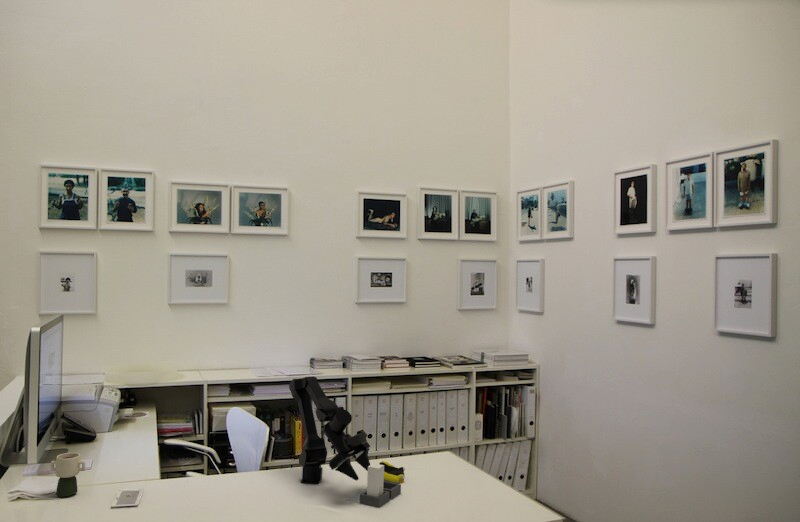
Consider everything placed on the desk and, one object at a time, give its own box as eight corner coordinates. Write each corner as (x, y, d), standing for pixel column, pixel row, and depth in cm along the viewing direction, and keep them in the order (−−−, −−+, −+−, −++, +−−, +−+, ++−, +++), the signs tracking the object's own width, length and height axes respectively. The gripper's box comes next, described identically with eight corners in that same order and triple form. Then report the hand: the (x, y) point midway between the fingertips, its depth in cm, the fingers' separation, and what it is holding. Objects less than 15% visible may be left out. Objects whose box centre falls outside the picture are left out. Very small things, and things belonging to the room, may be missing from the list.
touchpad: (143, 492, 213) (144, 485, 213) (137, 508, 199) (138, 501, 199) (118, 493, 211) (119, 486, 211) (111, 510, 197) (111, 503, 197)
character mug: (88, 491, 211) (90, 452, 211) (79, 499, 204) (81, 458, 204) (54, 491, 210) (56, 452, 210) (44, 498, 203) (46, 458, 203)
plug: (366, 503, 207) (367, 466, 207) (372, 499, 210) (373, 463, 210) (378, 505, 205) (379, 468, 205) (383, 501, 208) (384, 465, 208)
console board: (345, 503, 208) (345, 491, 208) (368, 489, 223) (369, 477, 223) (379, 511, 202) (379, 498, 203) (401, 496, 217) (401, 484, 217)
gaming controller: (375, 487, 225) (403, 489, 224) (376, 472, 225) (403, 473, 225) (378, 474, 240) (404, 475, 239) (379, 459, 240) (405, 461, 240)
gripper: (338, 429, 204) (366, 469, 199) (366, 418, 221) (393, 454, 216) (317, 449, 207) (344, 489, 202) (346, 436, 224) (372, 473, 219)
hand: (364, 475), depth 210 cm, fingers open, 9 cm apart
